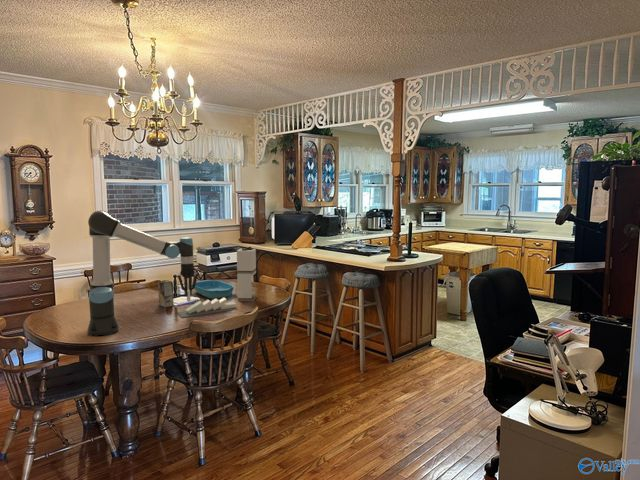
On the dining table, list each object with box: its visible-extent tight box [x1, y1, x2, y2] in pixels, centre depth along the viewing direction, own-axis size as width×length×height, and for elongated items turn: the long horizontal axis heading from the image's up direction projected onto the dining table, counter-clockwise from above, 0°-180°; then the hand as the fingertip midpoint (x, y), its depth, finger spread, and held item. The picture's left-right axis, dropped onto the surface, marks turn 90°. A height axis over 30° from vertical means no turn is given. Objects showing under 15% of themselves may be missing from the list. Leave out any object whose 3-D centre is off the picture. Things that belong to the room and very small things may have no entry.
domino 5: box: [219, 301, 237, 309], centre depth 274 cm, size 2×5×10 cm
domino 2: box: [195, 299, 212, 313], centre depth 265 cm, size 2×5×10 cm
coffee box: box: [157, 279, 175, 308], centre depth 280 cm, size 9×6×16 cm
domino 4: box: [212, 297, 229, 310], centre depth 271 cm, size 2×5×10 cm
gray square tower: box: [236, 247, 257, 302], centre depth 295 cm, size 11×11×35 cm
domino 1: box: [185, 300, 203, 314], centre depth 263 cm, size 2×5×10 cm
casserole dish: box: [194, 279, 235, 300], centre depth 311 cm, size 37×22×7 cm, turn 40°
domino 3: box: [203, 298, 220, 311], centre depth 268 cm, size 2×5×10 cm
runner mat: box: [176, 308, 234, 319], centre depth 267 cm, size 32×12×1 cm, turn 121°
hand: (188, 300), depth 260 cm, fingers closed
